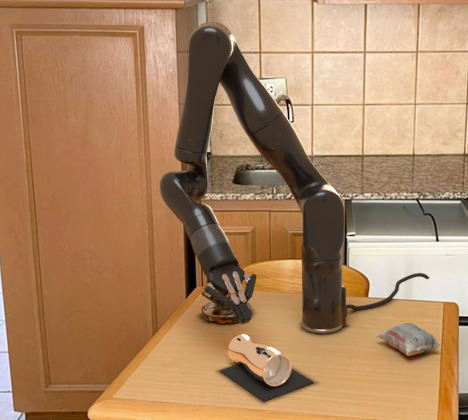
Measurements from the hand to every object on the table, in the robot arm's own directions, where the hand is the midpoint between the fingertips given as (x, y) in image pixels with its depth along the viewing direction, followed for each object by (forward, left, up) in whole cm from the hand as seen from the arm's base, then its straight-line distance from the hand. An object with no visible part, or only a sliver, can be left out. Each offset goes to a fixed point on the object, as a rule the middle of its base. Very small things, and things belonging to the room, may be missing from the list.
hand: (246, 321), depth 165 cm
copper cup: (+1, -3, -7) cm, 7 cm away
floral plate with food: (-6, -27, -10) cm, 30 cm away
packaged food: (-33, +10, -10) cm, 36 cm away
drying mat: (-1, +6, -10) cm, 12 cm away
